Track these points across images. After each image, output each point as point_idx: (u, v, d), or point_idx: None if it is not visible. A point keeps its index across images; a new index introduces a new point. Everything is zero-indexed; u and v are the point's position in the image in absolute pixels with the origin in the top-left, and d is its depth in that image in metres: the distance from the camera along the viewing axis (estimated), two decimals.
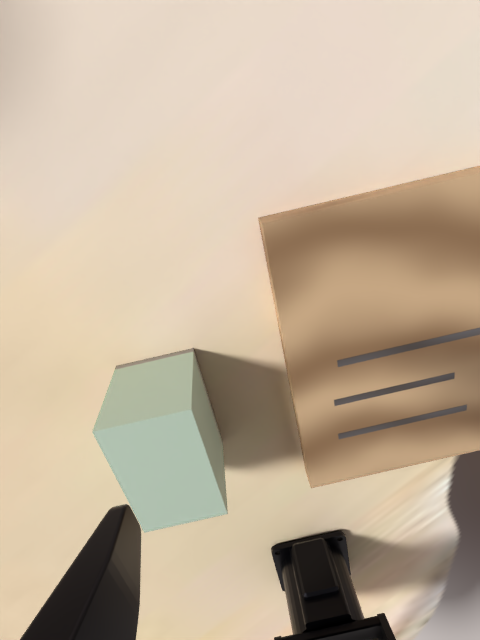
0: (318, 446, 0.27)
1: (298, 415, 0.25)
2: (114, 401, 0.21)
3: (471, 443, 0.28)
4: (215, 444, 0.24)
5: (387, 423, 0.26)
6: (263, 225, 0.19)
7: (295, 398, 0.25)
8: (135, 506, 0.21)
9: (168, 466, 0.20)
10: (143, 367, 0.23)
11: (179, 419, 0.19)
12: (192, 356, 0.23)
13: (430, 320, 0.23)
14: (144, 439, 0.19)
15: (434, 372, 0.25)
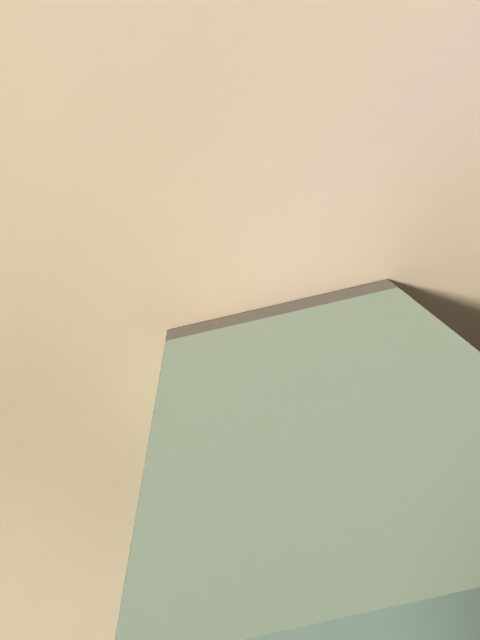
0: None
1: None
2: (194, 454, 0.05)
3: None
4: None
5: None
6: None
7: None
8: None
9: None
10: (256, 332, 0.08)
11: None
12: (407, 298, 0.08)
13: None
14: None
15: None
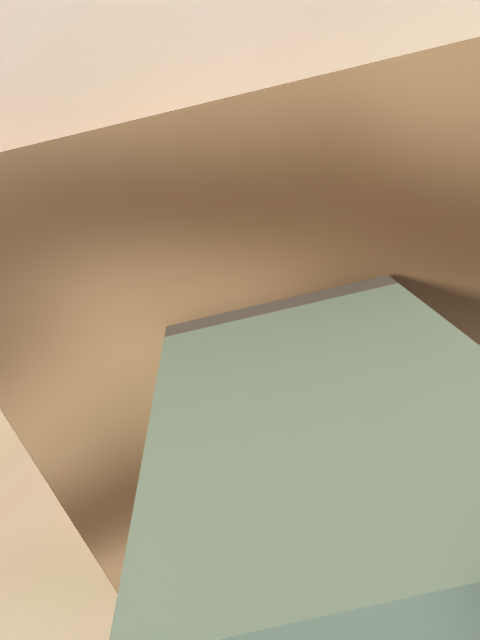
0: None
1: (114, 582, 0.13)
2: (192, 449, 0.05)
3: None
4: None
5: None
6: None
7: (97, 557, 0.12)
8: None
9: None
10: (255, 328, 0.07)
11: None
12: (408, 294, 0.07)
13: None
14: None
15: None
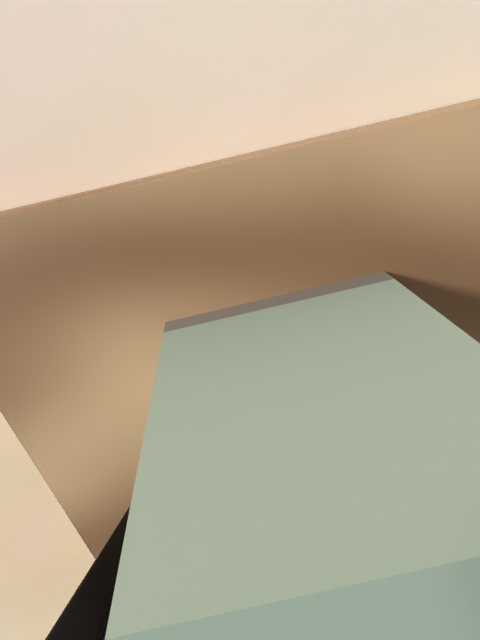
0: None
1: None
2: (190, 438, 0.05)
3: None
4: None
5: None
6: None
7: None
8: None
9: None
10: (253, 323, 0.08)
11: None
12: (403, 289, 0.08)
13: None
14: None
15: None
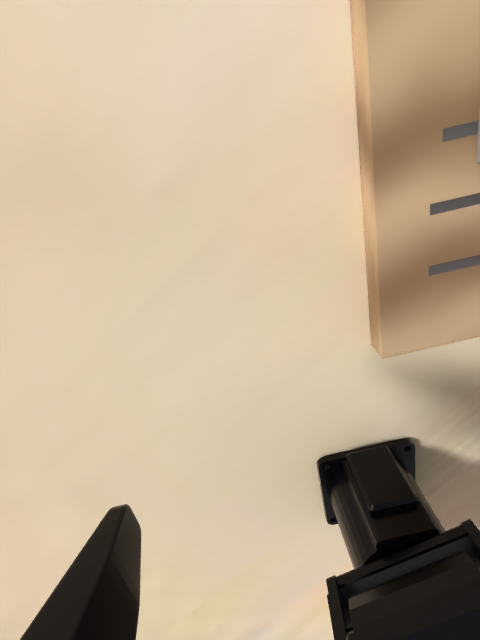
0: (399, 287, 0.19)
1: (377, 230, 0.18)
2: None
3: None
4: None
5: None
6: None
7: (376, 198, 0.17)
8: None
9: None
10: None
11: None
12: None
13: None
14: None
15: None
